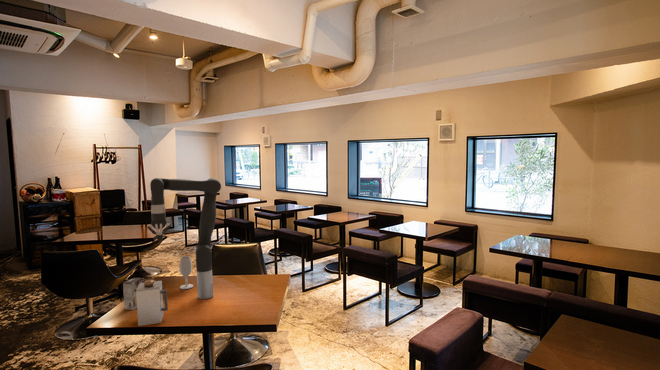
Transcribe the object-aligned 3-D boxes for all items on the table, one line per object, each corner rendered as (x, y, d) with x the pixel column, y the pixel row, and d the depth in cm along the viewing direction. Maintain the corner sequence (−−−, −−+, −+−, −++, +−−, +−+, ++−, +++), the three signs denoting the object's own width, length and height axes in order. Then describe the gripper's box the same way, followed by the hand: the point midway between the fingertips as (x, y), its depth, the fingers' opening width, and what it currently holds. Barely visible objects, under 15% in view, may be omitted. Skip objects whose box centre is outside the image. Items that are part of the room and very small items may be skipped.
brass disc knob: (160, 313, 198) (158, 277, 196) (158, 319, 190) (156, 282, 189) (143, 315, 195) (141, 279, 194) (141, 322, 187) (139, 284, 186)
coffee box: (135, 302, 216) (134, 277, 215) (144, 303, 215) (143, 277, 214) (124, 309, 207) (122, 282, 206) (133, 309, 206) (131, 283, 205)
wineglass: (180, 290, 235) (178, 259, 234) (179, 286, 243) (177, 256, 242) (194, 288, 239) (192, 257, 238) (192, 284, 247) (191, 254, 246)
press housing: (169, 313, 201) (167, 279, 199) (167, 321, 190) (165, 286, 189) (141, 317, 196) (139, 283, 195) (138, 326, 186) (136, 290, 184)
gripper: (171, 210, 214) (172, 238, 216) (146, 211, 210) (148, 240, 211) (170, 212, 207) (171, 241, 209) (144, 213, 203) (146, 243, 204)
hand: (159, 240), depth 210 cm, fingers closed
